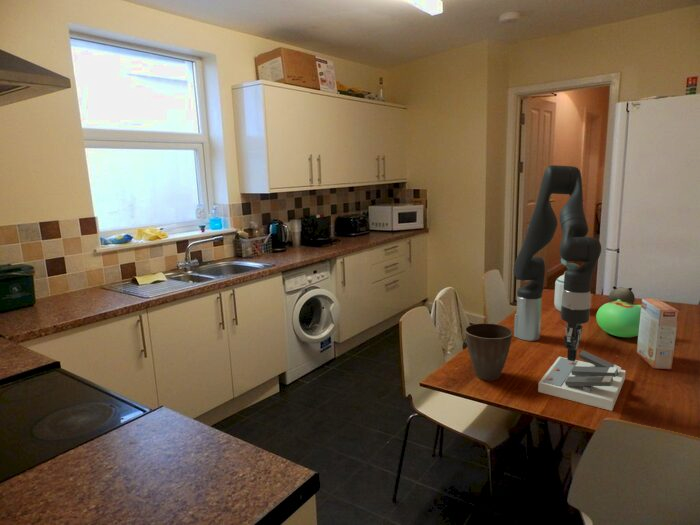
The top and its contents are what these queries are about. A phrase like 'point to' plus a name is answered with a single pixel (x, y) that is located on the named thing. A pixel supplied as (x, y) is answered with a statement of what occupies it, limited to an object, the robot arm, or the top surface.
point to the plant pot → (488, 348)
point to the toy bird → (619, 318)
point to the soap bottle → (561, 285)
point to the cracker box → (657, 333)
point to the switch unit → (583, 394)
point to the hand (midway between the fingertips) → (571, 359)
